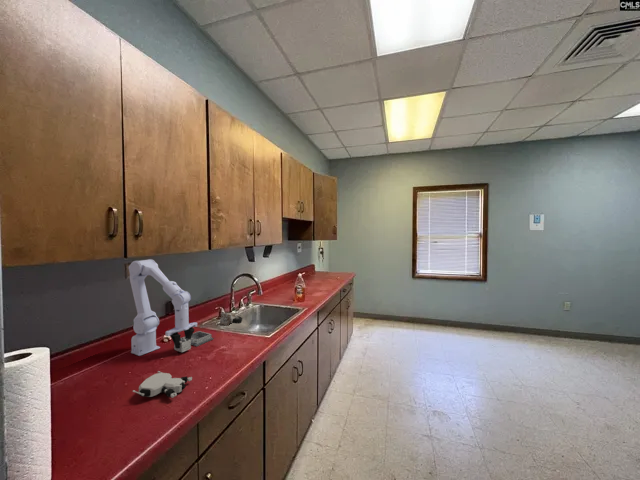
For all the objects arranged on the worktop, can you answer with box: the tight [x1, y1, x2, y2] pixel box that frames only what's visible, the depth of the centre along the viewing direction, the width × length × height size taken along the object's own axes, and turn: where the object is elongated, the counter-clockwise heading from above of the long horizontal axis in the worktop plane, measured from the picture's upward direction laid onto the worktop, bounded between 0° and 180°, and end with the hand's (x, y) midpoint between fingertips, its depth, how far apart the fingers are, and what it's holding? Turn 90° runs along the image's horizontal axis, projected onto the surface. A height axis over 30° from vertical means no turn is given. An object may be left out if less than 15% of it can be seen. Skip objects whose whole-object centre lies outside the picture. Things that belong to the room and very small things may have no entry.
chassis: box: [183, 330, 215, 347], centre depth 133 cm, size 10×12×3 cm
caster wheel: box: [219, 312, 243, 327], centre depth 159 cm, size 7×11×10 cm
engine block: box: [173, 336, 192, 353], centre depth 121 cm, size 4×6×5 cm
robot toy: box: [132, 370, 193, 399], centre depth 89 cm, size 12×4×15 cm
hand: (182, 345), depth 121 cm, fingers closed on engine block, 4 cm apart
